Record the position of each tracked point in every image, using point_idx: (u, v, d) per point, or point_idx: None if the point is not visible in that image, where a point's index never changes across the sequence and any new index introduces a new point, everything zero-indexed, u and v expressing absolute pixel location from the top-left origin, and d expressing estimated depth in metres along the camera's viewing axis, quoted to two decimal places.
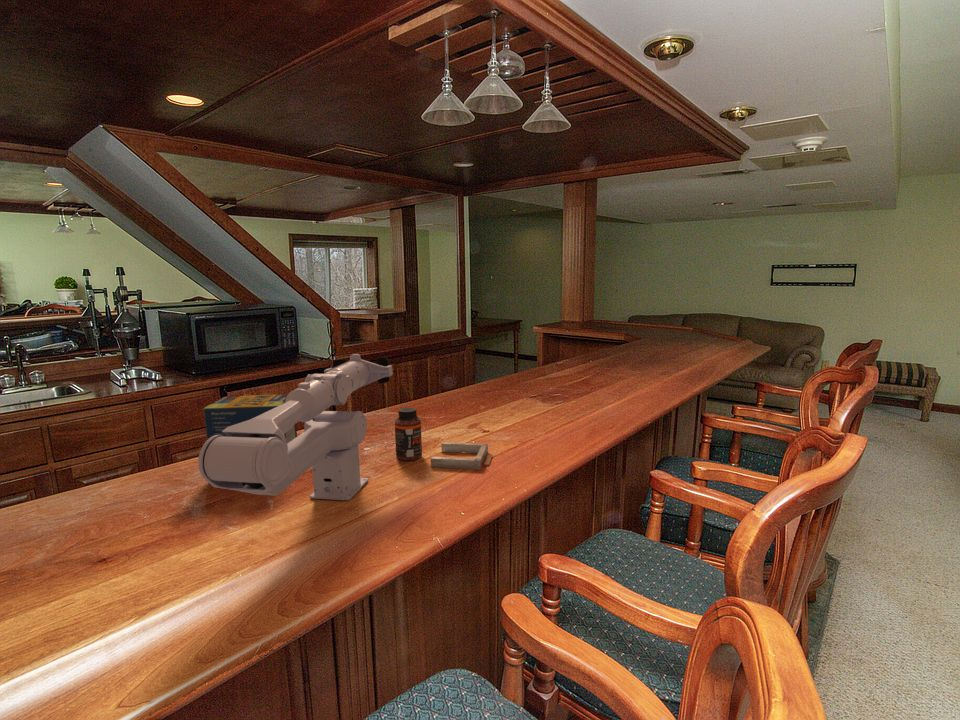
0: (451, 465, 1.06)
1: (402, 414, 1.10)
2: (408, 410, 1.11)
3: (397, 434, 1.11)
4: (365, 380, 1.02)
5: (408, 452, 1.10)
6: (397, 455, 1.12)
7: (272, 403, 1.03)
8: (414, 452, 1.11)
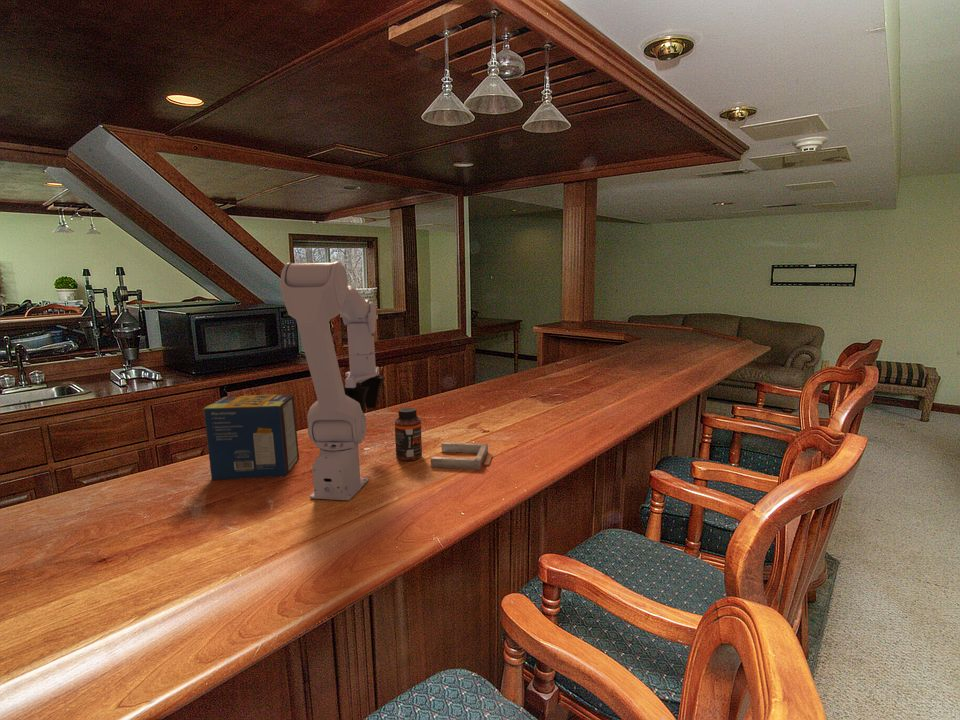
0: (451, 465, 1.06)
1: (402, 414, 1.10)
2: (408, 410, 1.11)
3: (397, 434, 1.11)
4: None
5: (408, 452, 1.10)
6: (397, 455, 1.12)
7: (272, 403, 1.03)
8: (414, 452, 1.11)
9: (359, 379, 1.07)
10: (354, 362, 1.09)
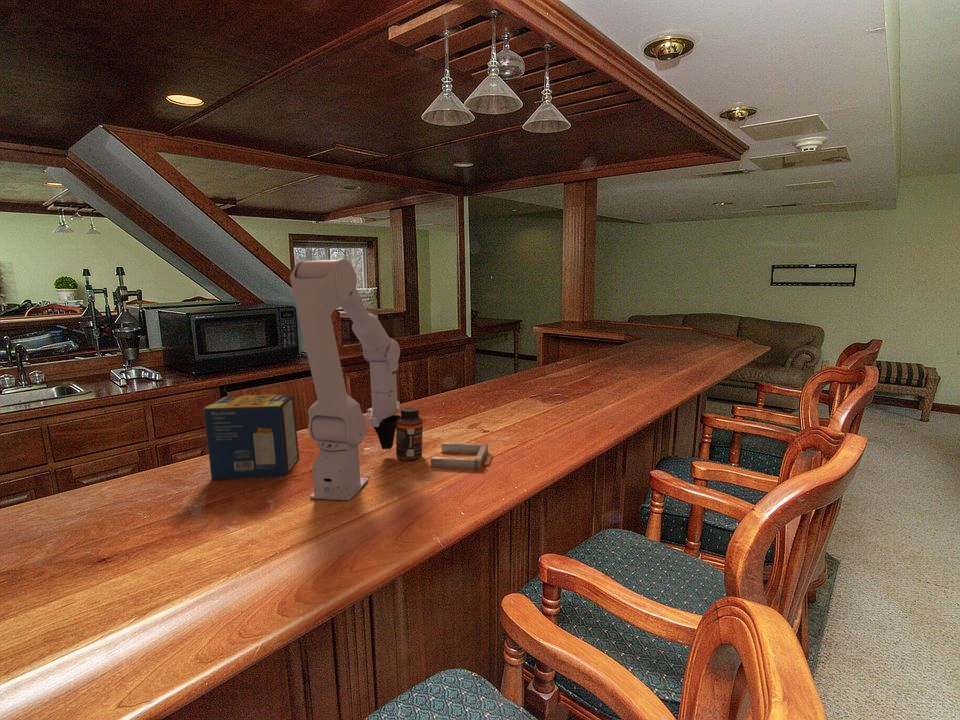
0: (451, 465, 1.06)
1: (404, 413, 1.10)
2: (410, 410, 1.11)
3: (398, 433, 1.11)
4: None
5: (409, 452, 1.10)
6: (397, 454, 1.12)
7: (272, 403, 1.03)
8: (415, 451, 1.11)
9: (382, 418, 1.08)
10: (377, 400, 1.10)
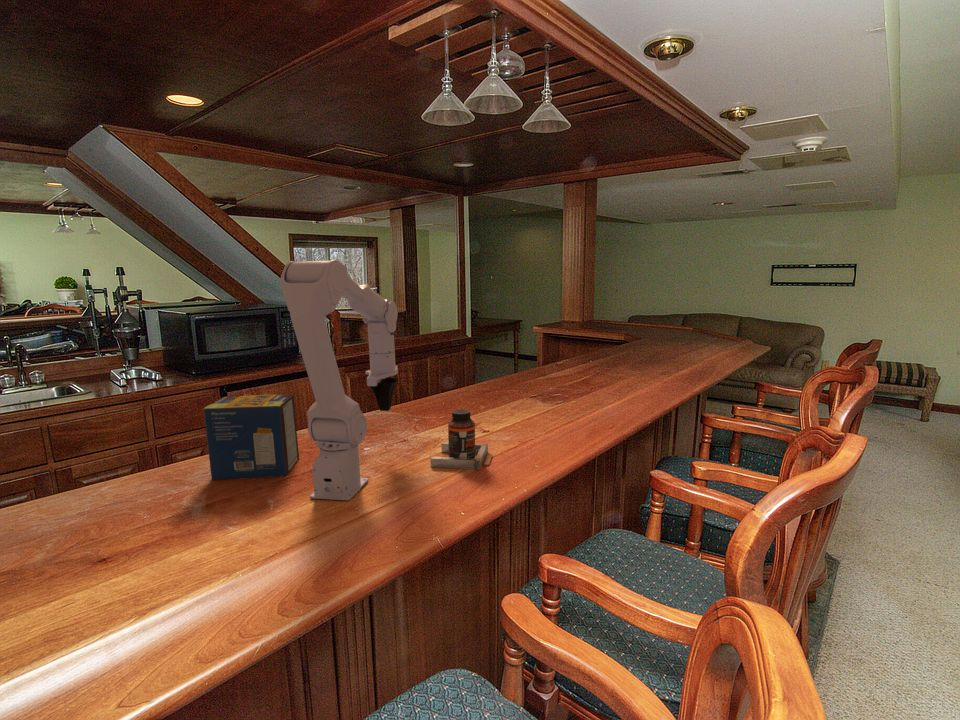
0: (451, 465, 1.06)
1: (456, 416, 1.08)
2: (462, 412, 1.08)
3: (450, 436, 1.08)
4: None
5: (462, 456, 1.08)
6: None
7: (272, 403, 1.03)
8: (467, 455, 1.08)
9: (380, 377, 1.08)
10: (375, 360, 1.10)
